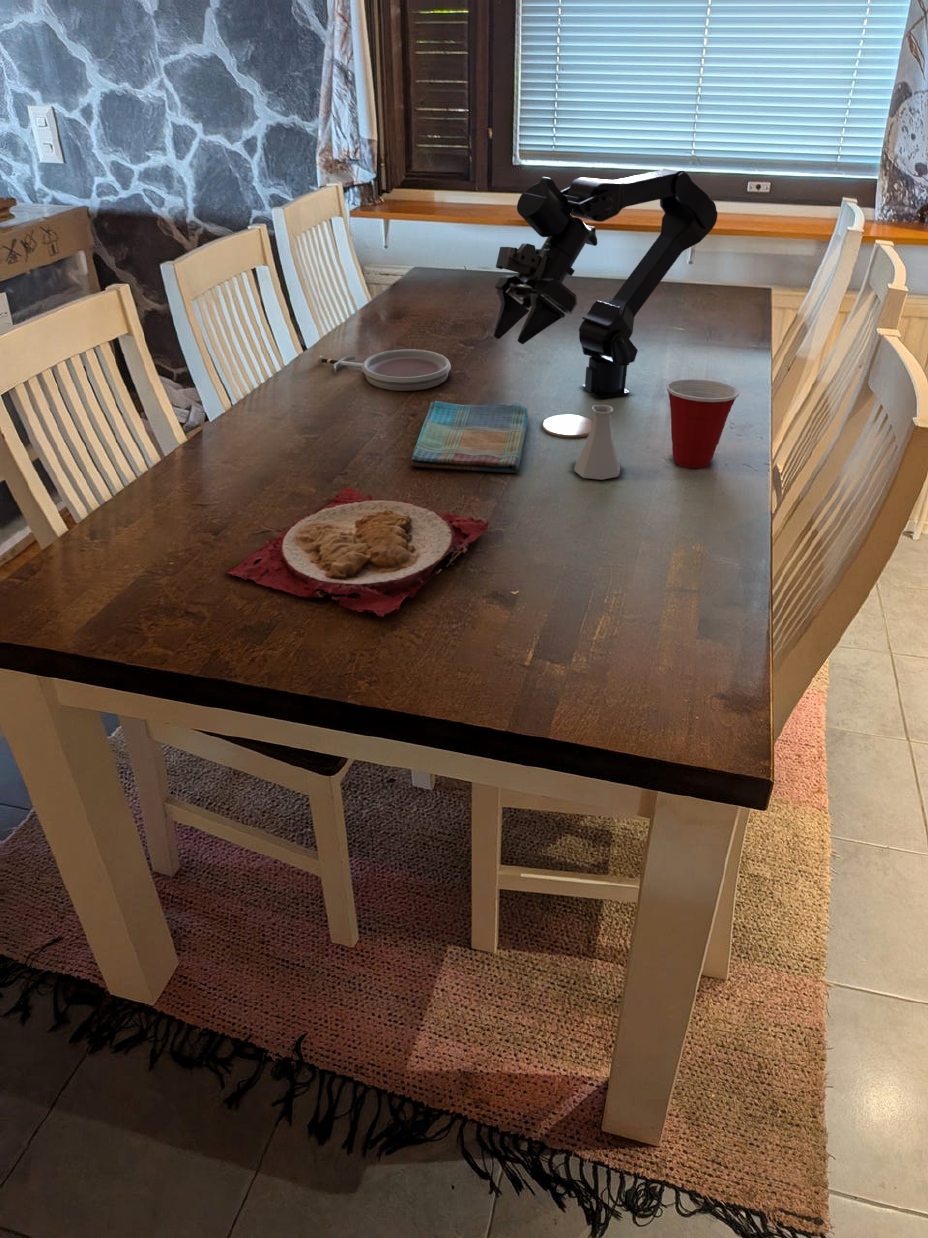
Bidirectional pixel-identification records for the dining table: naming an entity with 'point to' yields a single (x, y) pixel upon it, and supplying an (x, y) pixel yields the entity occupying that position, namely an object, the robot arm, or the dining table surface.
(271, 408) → the dining table surface
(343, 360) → the frying pan
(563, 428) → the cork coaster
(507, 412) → the dish towel
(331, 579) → the plate with food
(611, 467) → the flask
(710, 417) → the plastic cup
